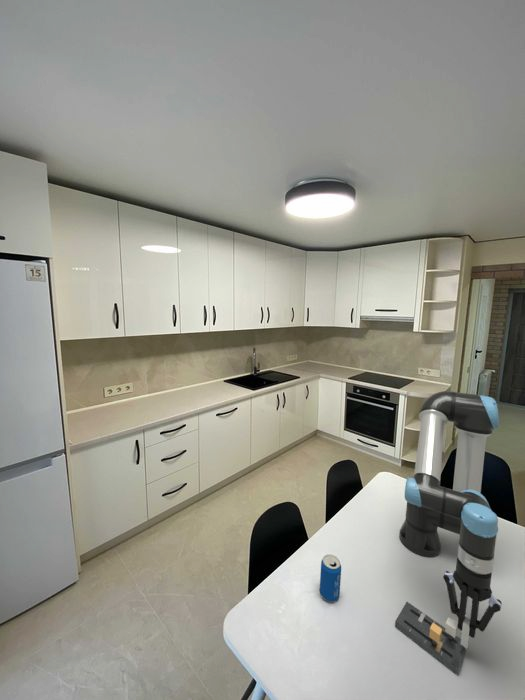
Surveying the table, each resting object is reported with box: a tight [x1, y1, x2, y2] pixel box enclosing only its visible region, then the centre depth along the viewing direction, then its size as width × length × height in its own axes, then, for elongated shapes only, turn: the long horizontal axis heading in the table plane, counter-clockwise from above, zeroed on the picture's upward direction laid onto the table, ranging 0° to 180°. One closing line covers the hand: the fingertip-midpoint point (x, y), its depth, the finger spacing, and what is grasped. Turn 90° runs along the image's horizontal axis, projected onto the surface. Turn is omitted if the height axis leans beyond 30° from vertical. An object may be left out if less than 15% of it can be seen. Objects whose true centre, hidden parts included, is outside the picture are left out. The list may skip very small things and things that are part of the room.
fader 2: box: [444, 616, 459, 640], centre depth 82 cm, size 2×2×4 cm
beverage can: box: [319, 553, 342, 603], centre depth 95 cm, size 6×6×12 cm
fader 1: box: [429, 623, 442, 646], centre depth 80 cm, size 2×2×4 cm
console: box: [394, 601, 467, 676], centre depth 83 cm, size 16×9×2 cm, turn 43°
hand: (464, 642), depth 79 cm, fingers closed
